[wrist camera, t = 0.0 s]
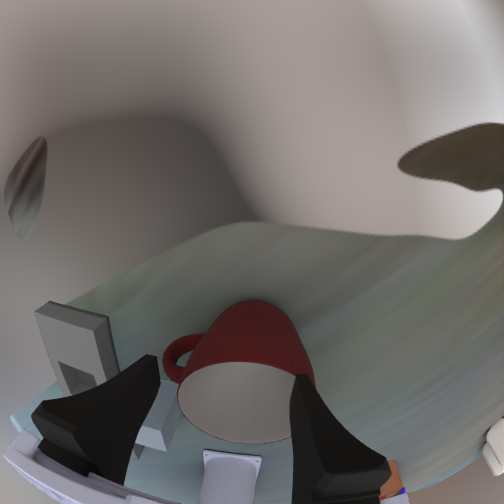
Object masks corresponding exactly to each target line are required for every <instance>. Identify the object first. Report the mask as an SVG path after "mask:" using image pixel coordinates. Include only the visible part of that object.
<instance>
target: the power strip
mask: <svg viewBox="0 0 504 504" xmlns="http://www.w3.org/2000/svg"><path fill="white" fill-rule="evenodd" d="M34 313H35V316H36V320H37V324H38V327H39V330H40V333H41V337H42V340H43V343H44V346H45V349H46V352H47V355H48V357H49V360H50V362H51V365H52V368H53V370H54V372H55V375H56V377H57V380H58V382H59V385H60V387H61V389H62V391H63V394H64V396H65V397H68V396H72V395H75V394H78V393H81V392H84V391H87V390H89V389H92V388H94V387H96V386H98V385H100V384H102V383H104V382H106V381H108V380H109V379H111V378H113V377H114V376H116V375H118V374H119V373H120V370H119V366H118V361H117V357H116V353H115V348H114V344H113V339H112V334H111V329H110V324H109V318H108V316H104V315H100V314H96V313H92V312H88V311H84V310H80V309H77V308H73V307H69V306H66V305H62V304H59V303H55V302H52V301H49V302H48V303H46V304H44V305H43V306H41V307H40V308H39V309H37V310H36V311H34ZM143 448H144V445H140V444H137V443H135V444H134V447H133V450H132V453H131V457H130V458H133V459H136V460H139V458H140V455H141V453H142V451H143Z"/></svg>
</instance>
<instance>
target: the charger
mask: <svg viewBox="0 0 504 504" xmlns="http://www.w3.org/2000/svg"><path fill="white" fill-rule="evenodd" d="M160 381H161V385H160V388H159V391H158V394H157V397H156V399H155V401H154V403H153V405H152V407H151V409H150V411H149V413H148V415H147V417H146V419H145V421H144V423H143V424H142V426H141V428H140V431H139V433H138V436H137V438H136V441H135V443H137V444H140V445H144V446H147V447H150V448H154V449H158V450H161V451H165V452H167V450H168V447H169V444H170V442H171V439H172V436H173V433H174V431H175V428H176V425H177V422H178V420H179V417H180V414H181V412H182V411H181V410H180V408H179V405H178V401H177V390H178V386H179V384H177V383H175V382H173V381H168V380H163V379H160Z"/></svg>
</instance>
